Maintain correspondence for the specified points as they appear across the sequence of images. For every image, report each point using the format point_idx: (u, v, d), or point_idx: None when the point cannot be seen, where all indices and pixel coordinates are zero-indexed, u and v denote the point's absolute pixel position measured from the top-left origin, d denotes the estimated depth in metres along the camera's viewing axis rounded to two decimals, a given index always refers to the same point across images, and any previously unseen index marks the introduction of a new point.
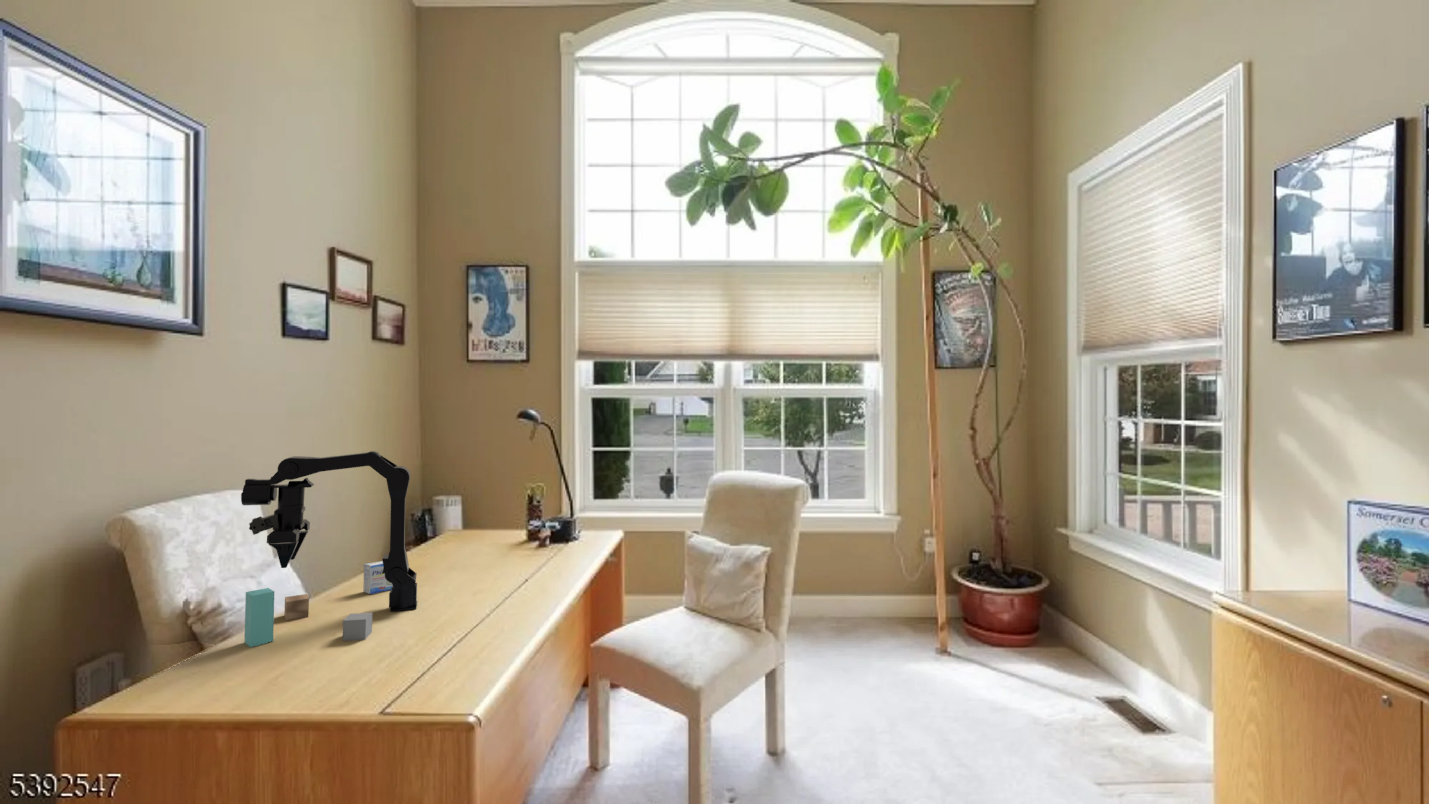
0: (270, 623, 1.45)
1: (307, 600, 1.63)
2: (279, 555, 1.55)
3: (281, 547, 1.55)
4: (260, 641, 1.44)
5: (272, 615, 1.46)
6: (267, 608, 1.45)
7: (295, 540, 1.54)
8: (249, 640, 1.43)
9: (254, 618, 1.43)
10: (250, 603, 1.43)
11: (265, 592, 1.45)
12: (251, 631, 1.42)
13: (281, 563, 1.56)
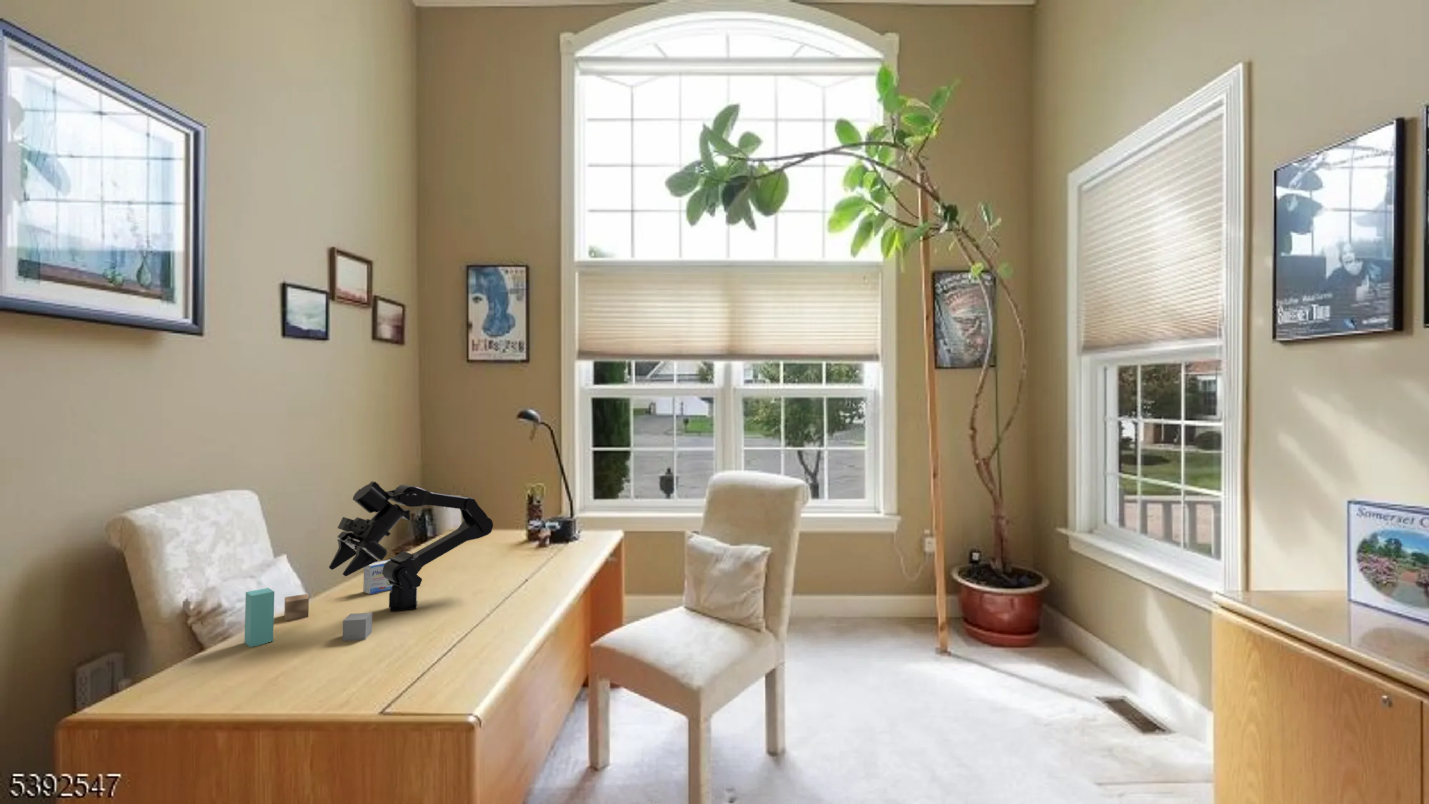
0: (270, 623, 1.45)
1: (307, 600, 1.63)
2: (354, 562, 1.56)
3: (361, 556, 1.58)
4: (260, 641, 1.44)
5: (272, 615, 1.46)
6: (267, 608, 1.45)
7: (382, 559, 1.59)
8: (249, 640, 1.43)
9: (254, 618, 1.43)
10: (250, 603, 1.43)
11: (265, 592, 1.45)
12: (251, 631, 1.42)
13: (347, 570, 1.56)
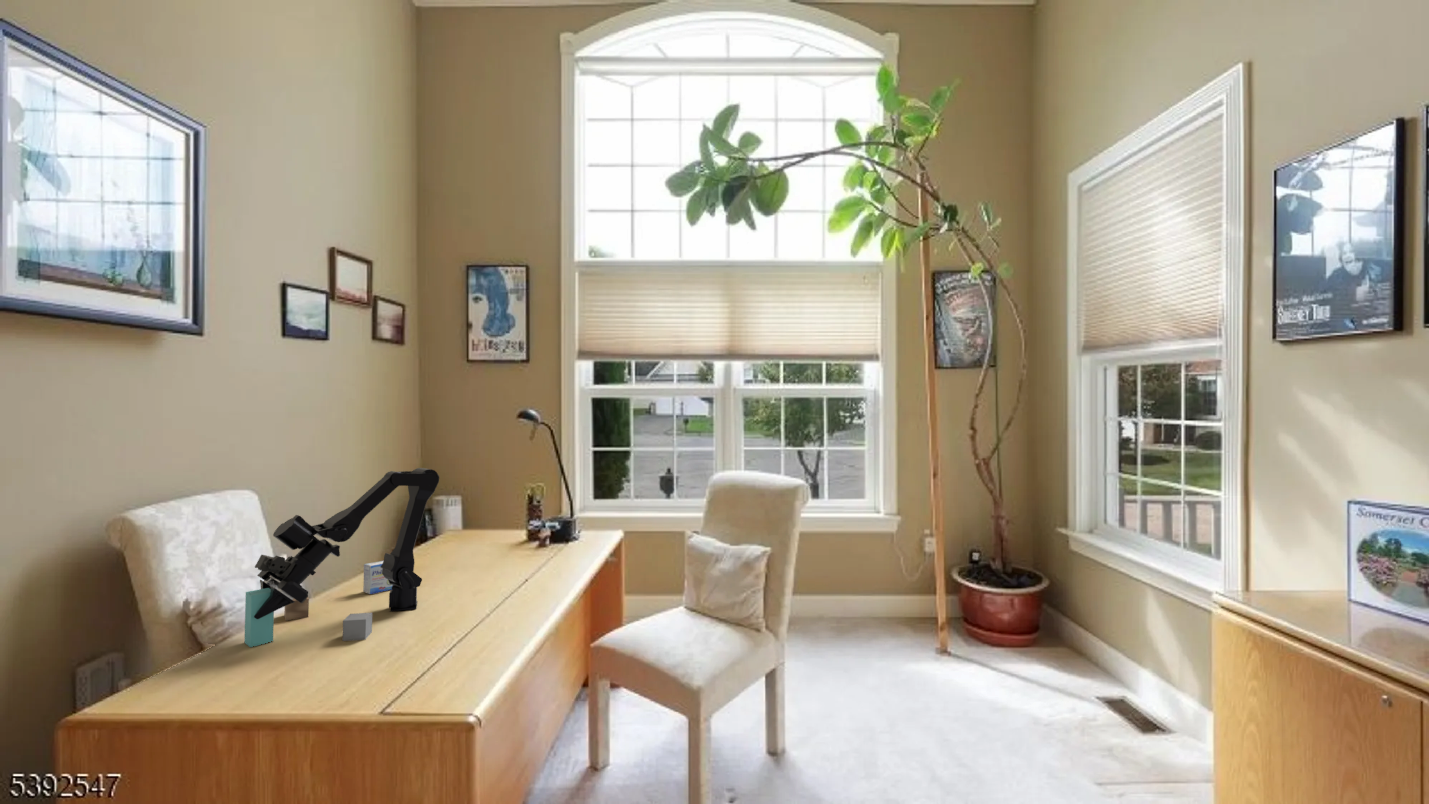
0: (270, 623, 1.45)
1: (307, 600, 1.63)
2: (267, 604, 1.44)
3: (275, 597, 1.45)
4: (260, 641, 1.44)
5: (272, 615, 1.46)
6: None
7: (302, 601, 1.45)
8: (249, 640, 1.43)
9: (254, 618, 1.43)
10: (250, 603, 1.43)
11: (265, 592, 1.45)
12: (251, 631, 1.42)
13: (259, 612, 1.43)
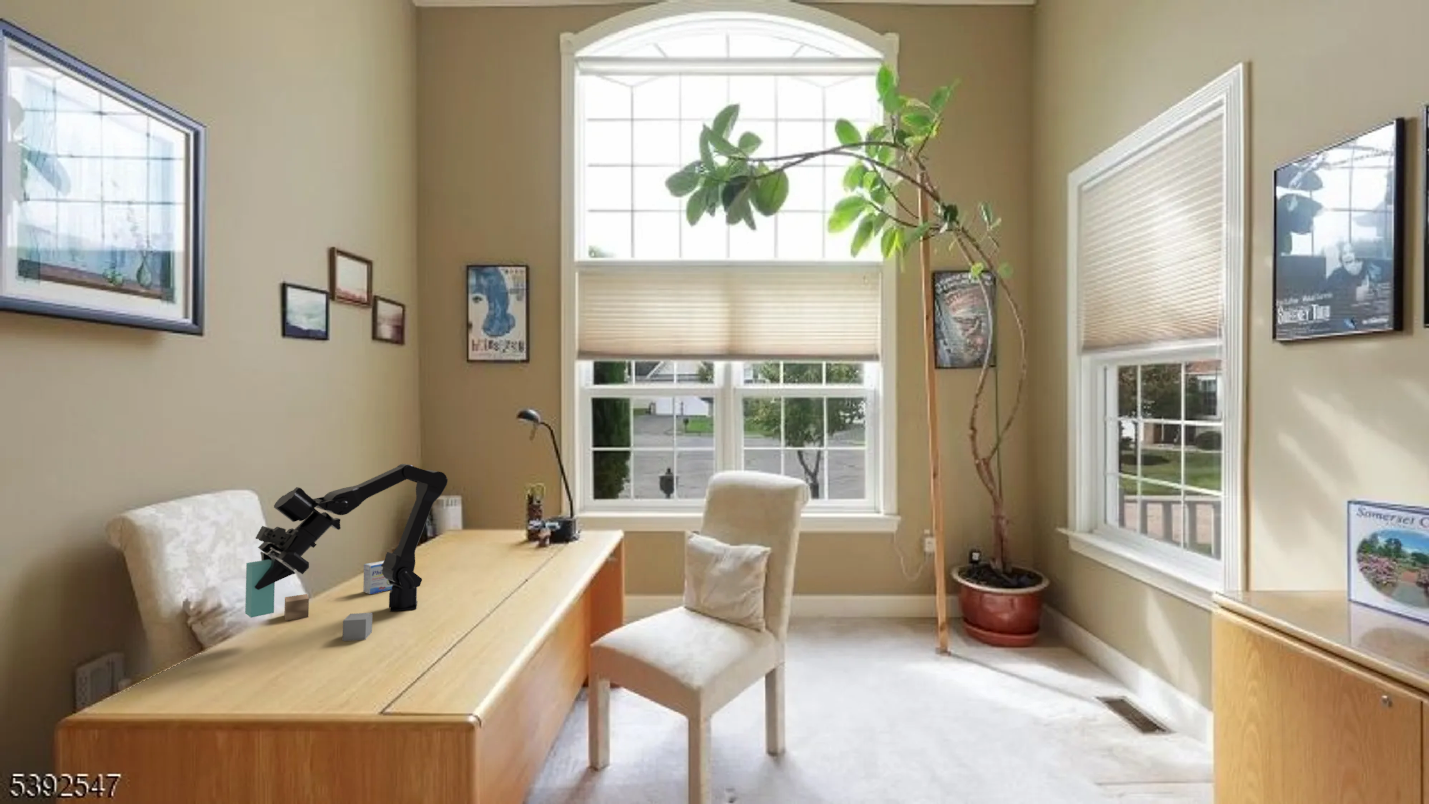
0: (271, 594, 1.45)
1: (307, 600, 1.63)
2: (267, 574, 1.44)
3: (276, 568, 1.45)
4: (261, 612, 1.44)
5: (273, 586, 1.46)
6: None
7: (303, 572, 1.45)
8: (250, 610, 1.43)
9: (255, 589, 1.43)
10: (251, 573, 1.43)
11: (266, 563, 1.45)
12: (252, 601, 1.42)
13: (260, 583, 1.43)
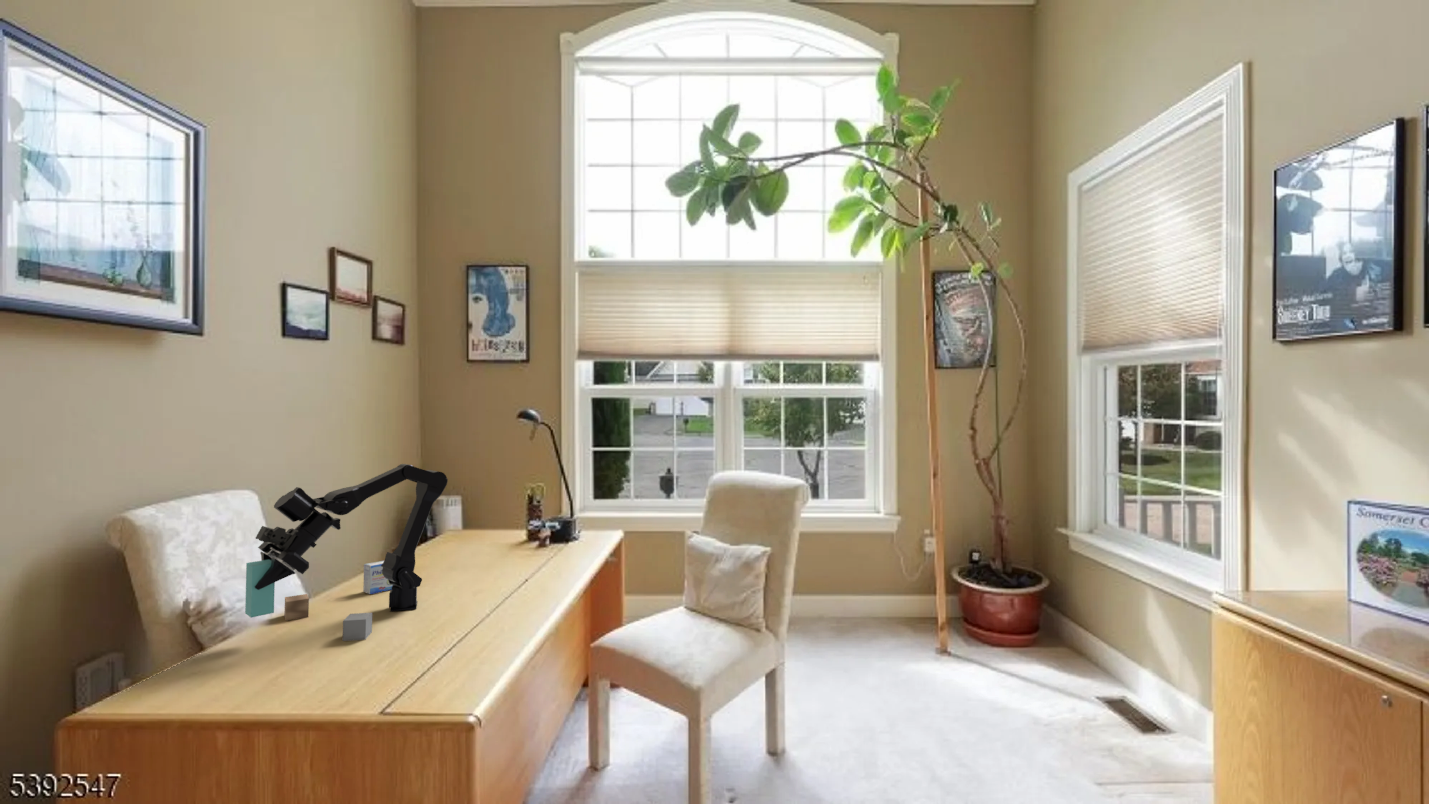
0: (271, 594, 1.45)
1: (307, 600, 1.63)
2: (267, 574, 1.44)
3: (276, 568, 1.45)
4: (261, 612, 1.44)
5: (273, 586, 1.46)
6: None
7: (303, 572, 1.45)
8: (250, 610, 1.43)
9: (255, 589, 1.43)
10: (251, 573, 1.43)
11: (266, 563, 1.45)
12: (252, 601, 1.42)
13: (260, 583, 1.43)
